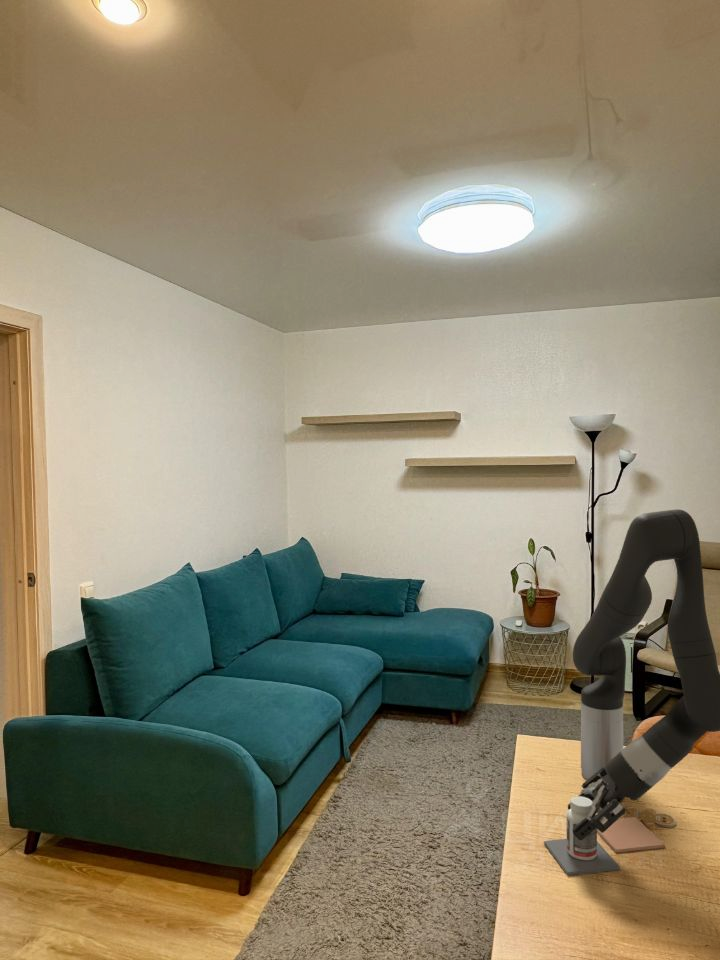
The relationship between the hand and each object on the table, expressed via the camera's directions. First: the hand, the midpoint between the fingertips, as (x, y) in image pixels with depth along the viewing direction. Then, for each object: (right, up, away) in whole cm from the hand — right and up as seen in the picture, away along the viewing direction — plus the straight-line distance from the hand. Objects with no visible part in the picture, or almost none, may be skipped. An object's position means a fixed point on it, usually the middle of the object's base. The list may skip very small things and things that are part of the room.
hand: (573, 823), depth 125 cm
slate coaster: (+1, -6, 0) cm, 6 cm away
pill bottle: (+1, -6, 0) cm, 6 cm away
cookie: (+20, -6, +13) cm, 24 cm away
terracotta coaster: (+12, -6, +7) cm, 15 cm away
